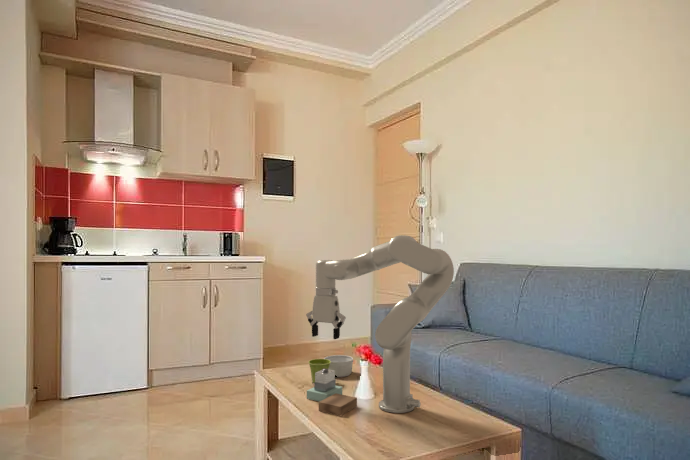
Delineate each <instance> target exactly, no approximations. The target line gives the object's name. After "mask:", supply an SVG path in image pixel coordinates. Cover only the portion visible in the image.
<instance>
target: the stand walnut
mask: <svg viewBox="0 0 690 460" xmlns="http://www.w3.org/2000/svg"><path fill="white" fill-rule="evenodd" d="M357 406H358V397H355V396H351V395H344V394H342V395H341V394H336V393H335V394H333V395H332V396H330V397H328V398H326V399H324V400H322V401H318V411H319V412H323V413H326V414H327V413H328V414H330V415H335V416H339V417H341V416H343V415H345V414H347V413H348V412H349V411H351V410H353V409H355V408H357Z"/></svg>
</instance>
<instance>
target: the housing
mask: <svg viewBox="0 0 690 460" xmlns="http://www.w3.org/2000/svg"><path fill="white" fill-rule="evenodd" d="M335 378H336V377H335V370H330V369H322V370H320V371H318V372H316V373H315V382H314V383H313V384H314V385H313V387H314V390H316V391H321V392H327V391H329V390H331V389H333V388H335V387H336V386H337V385H336V379H335Z"/></svg>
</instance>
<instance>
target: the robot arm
mask: <svg viewBox="0 0 690 460" xmlns="http://www.w3.org/2000/svg"><path fill="white" fill-rule="evenodd" d="M399 263H402V264H403V265H406V266H408V267H410V268H412V269H414V270H416V271H419V272H420V273H423V274H426V275H427V276H426V277H425V278H424V279H423V280H422V281H421V282H420V284H419V285H418V286H417V287H416V288H415V290H414V291H412V293H411V294H410V295H409V296H407V297H404V298H402V299H401V300H399V301H398V302H397V303H396V304H395V305H394V306H393V307H392V308H391V310H390V311H389V312H388V313H387V314H386V316H385V317H384V318H383V319H382V320H381V322H380V323H379V324H378V325H377V327H376V329H375V333H374V339H375V341H376V343H377V345H378V347H380V348H382V349H383V351H382V352H383V355H382V357H383V358H382V360H383V361H382V362H383V363H382V399H381V400H379V402H378V408H379V409H380V410H382V411H384V412H388V413H393V414H403V413H409V412H412V411H414V409H415V408H420V407H421V400H420V399H414V397H413V393H411V345H412V337H413V336H412V331H413V329H414V328H415V327H416V326H417V325H418V324H419V323H421V322H423V321H424V320H425V319H426V317H427V316H428V315H429V313H430V312H431V310H433V308H434V307H435V306H436V305H437V303H438V302H439V301H440V299H441V298H442V297H443V296H444V295H445V293H446V292H447V291H448V290H449V288H450V287H451V285H452V282H453V279H454V274H455V273H454V272H455V271H454V269H455V268H454V264H453V260H452V258H451V256H450V255H449V254H448V253H447V251H445V250H443V249H441V248H431V247H428V246H426V245H424V244H421V243H420V242H418V241H417V240H416V239H415V237H413V236H410V235H406V234H404V235H403V234H402V235H396V236H394V237H393V238H391V239H390V240H389V241H387V242H383V243H381V244H378V245H375V246H372V247H370V249H369V251H368V252H366V253H364V254H360V255H358V256H355V257H352V258H347V259H339V260H332V259H331V260H330V259H319V260H317V261H316V263H315V295H314V296H313V303H312V310H311V311H309V312H307V313H306V317H307V321H308V322H309V324H310V326H311V337H317V336H318V335H319V325H318V323H325V324H332V326H333V330H332V331H333V333H332V334H333V336H332V337H333V338H332V339H333V340H337V339H339V338H340V335H341V329H340V328H341V327H342V326H343V325H344V323H345V321H346V318H347V317H346V316H345V315H344V314H342V312H341V313H340V310H341V309H340V302H339V298H338V295H336V294H338V293H339V291H338V289H337V288H336V281H345V280H351V279H355V278H358V277H360V276H364V275H366V274H369V273H372V272H375V271H379V270H381V269H385V268H388V267H390V266H393V265H396V264H399Z"/></svg>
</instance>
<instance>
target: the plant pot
mask: <svg viewBox="0 0 690 460" xmlns="http://www.w3.org/2000/svg"><path fill="white" fill-rule="evenodd" d="M330 363H331V361H330V360H327V359H324V358H314V359H310V360H308V364H309V368H310V375H311V382H312V384H314V382H315V373H316V372H318V371H320V370H322V369H329V366H330Z"/></svg>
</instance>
